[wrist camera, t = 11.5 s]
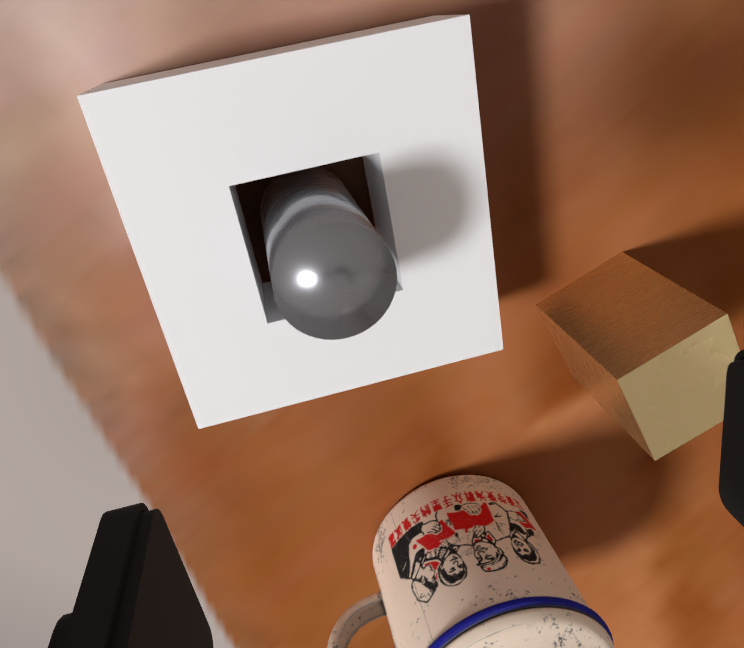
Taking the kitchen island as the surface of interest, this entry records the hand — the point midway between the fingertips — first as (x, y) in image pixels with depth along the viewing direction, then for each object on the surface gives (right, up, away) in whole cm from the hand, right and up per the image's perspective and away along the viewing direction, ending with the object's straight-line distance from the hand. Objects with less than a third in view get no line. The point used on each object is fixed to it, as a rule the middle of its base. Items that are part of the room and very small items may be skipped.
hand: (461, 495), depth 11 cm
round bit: (-4, +7, +15) cm, 17 cm away
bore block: (-4, +7, +15) cm, 17 cm away
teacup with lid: (+1, -9, +24) cm, 26 cm away
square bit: (+9, +3, +20) cm, 22 cm away
